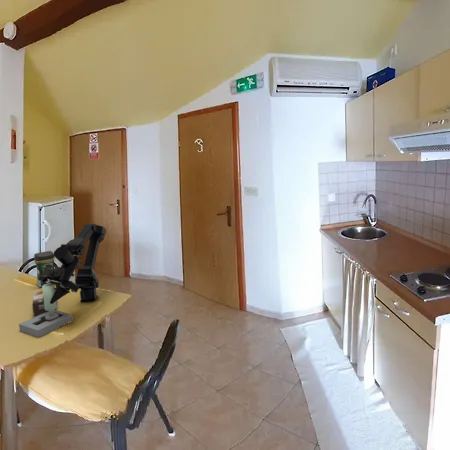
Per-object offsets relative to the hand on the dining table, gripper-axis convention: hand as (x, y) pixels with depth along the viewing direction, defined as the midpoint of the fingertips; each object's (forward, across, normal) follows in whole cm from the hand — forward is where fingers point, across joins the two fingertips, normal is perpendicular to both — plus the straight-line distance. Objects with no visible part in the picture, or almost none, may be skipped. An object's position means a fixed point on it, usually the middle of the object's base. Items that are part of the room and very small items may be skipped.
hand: (46, 302), depth 138 cm
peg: (+4, 0, +6) cm, 7 cm away
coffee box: (-6, -22, +15) cm, 27 cm away
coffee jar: (-14, -43, +28) cm, 53 cm away
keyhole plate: (+8, 0, +6) cm, 10 cm away
